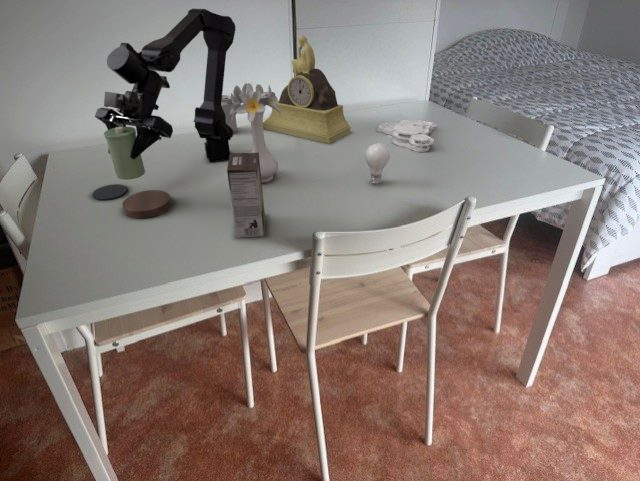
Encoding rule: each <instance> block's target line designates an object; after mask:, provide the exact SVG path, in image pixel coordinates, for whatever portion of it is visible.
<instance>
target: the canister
mask: <svg viewBox="0 0 640 481" xmlns="http://www.w3.org/2000/svg"><path fill="white" fill-rule="evenodd" d="M103 136H104V139H105V140H106V144H107V146H108V147H107V149H108V148H109V151H110V154H109V155H110V158H111V161H112V165H113V167H114V172H115V175H116V178H117V179H119V180H122V181H123V180H125V181H126V180H127V181H128V180H134V179H138V178H140V177H142V176H144V175H145V174H146V169H145V165H144V161H143V158H142V153H141V154H140V155H139V156H138V157H137V158H136V159H132V158H131V157H130V156H131V152H132V148H133V145H134V142H135V139H136V136H137V131H136V127H134V126H126V127H116V128H112V129H109V130H108V129H107V130H106V131H104V132H103Z"/></svg>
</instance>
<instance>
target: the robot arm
mask: <svg viewBox="0 0 640 481" xmlns="http://www.w3.org/2000/svg"><path fill="white" fill-rule="evenodd" d="M201 32H202V33H203V34H202V37H203V40H204V43H205V45H206V48H207V56H206V68H205V69H206V70H205V79H204V91H203V101H202V103H201V105H200V106H199V107H197V106H196V107H195V109H194V118H193V123H194V128H195V130H196V132H197V134H198V136H199V138H200V139H205V141H204V143H203V144H204V151H205V156H206V158H207V159H208V160H209V162H210V163H213V162H221V161H226V160H227V161H229V155H230V154H231V152H230V151H231V150H230V143H229V142H230V140H232V138H233V137H234V133H233V129H232V128H231V127H230V126H228V125H227V124H226V115H225V113H224V110H223V108H222V106H221V102H222V95H223V91H224V81H225V72H226V71H225V70H226V59H227V52H228V50H230V48H231V46H232V45H233V43H234V38H235V35H236V23H235V21H234V20H233V19H232V17H230V16H229V15H221V14H217V13H214V12H212V11H210V10H208V9H206V8H194V7H193V8H191V9H189V10H188V12H187V14H186V15H185V16H184V17H183V18H182V19H181V20H180V21H179V22H178V23H177V24H176V25H175V26H173V28H171V30H170V31H168V33H167V34H166V35H164V36H163V37H161V38H158V39H154V40H152V41H151V42H148V43H147V44H145V45H144V46H142V48H141V50H140V51H139V52H138V51H137V50H136V49H135V48H134V47H133V46H132V45H131V44H130V43H129V42H121V43H120V44H119V46H118V47H115V48H114V49H113V50H112V51H111V52H110V53H109V54H108V55H107V58H106V66H107V67H108V68H109V69H110V70H111V71H112V72H114V73H115V74H116V75H118V77H120V78H121V79H122V80H124V81H125V82H126V83H127V84H130V85H133V87H132V89H131V90H126V91H125V92H124V94H123V93H119V92H110V91H104V100H103V107H100V108H97V109H96V112H95V114H94V118H96V119H97V120H99V121H100V122H102V123H103V124H104V125H105V127H106V129H107V130H109V129H112V128H116V127H127V126H129V127H135V130H136V139H135V142H134V145H133V148H132V152H131V156H130V157H131V158H132V159H136V158H137V157H138V156H139V155H140V154H141V155H142V154H143V153H144V152H145V151H146V150H147V149H148V148H149V147H151V146H152V145H154V144H155V143H156V142H157V141H161V140H162V138H166V139H171V138H172V135H173V133H174V129H173V125H172V124H170V123H169V121H167V120H165V119H164V118H163V117H161V116H159V115H153V112H154V110H155V111H158V110H159V108H160V106H159V105H158V104H157V102H158V99H159V96H160V94H161V91H162V89H170V88H171V86H170V83H169V81H168V78H167V77H168V76H165V75H161V74H160V73H159V72H163V73H172V72H173V71H174V70H175V69H176V67H177V66H178V64H180V61H181V53H182V52H183V51H184V50H185V48H186V47H187V46H188V45H189V44H190V43H191V42H192V41H193V40H194V39H195V38H196V37H198V35H199V34H200V33H201ZM109 107H110V108H109ZM113 108H114V109H116V110H114V109H113ZM107 149H108V150H107V151H108V152H107V153H108V154H109V155H110V151H109V148H108V147H107Z"/></svg>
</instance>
